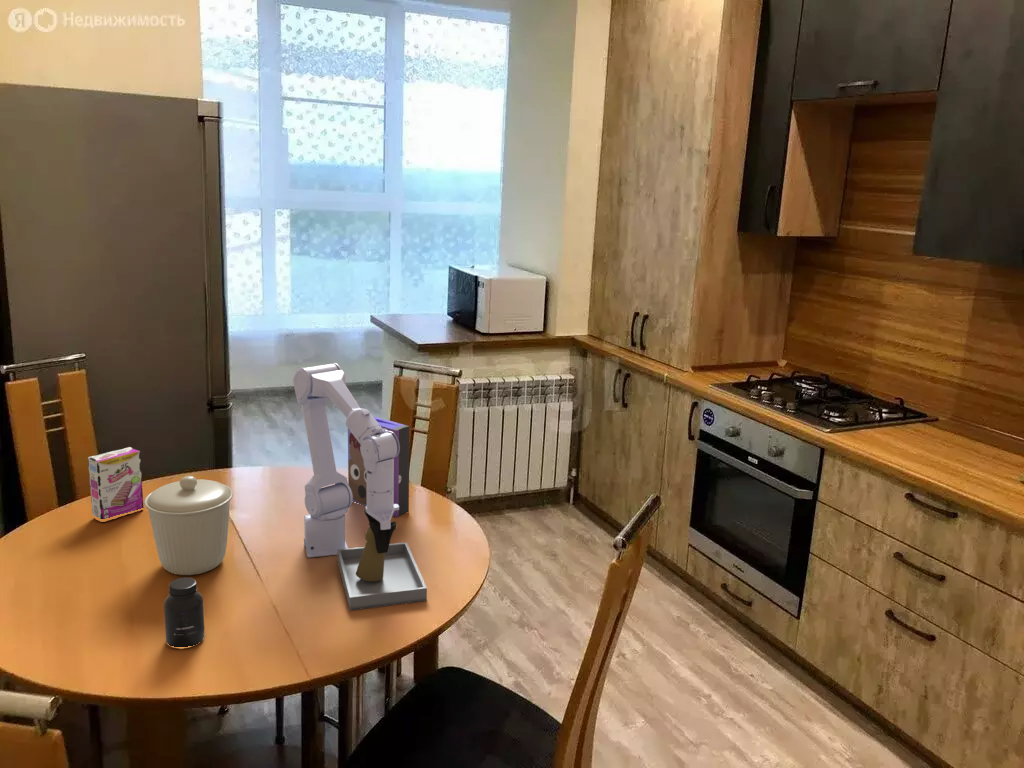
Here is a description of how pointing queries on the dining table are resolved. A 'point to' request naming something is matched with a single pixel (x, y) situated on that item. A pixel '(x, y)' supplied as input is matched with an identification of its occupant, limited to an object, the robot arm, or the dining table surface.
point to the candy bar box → (115, 482)
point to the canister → (190, 524)
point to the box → (395, 586)
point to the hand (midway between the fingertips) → (380, 546)
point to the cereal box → (401, 467)
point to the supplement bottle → (184, 613)
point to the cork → (371, 560)
